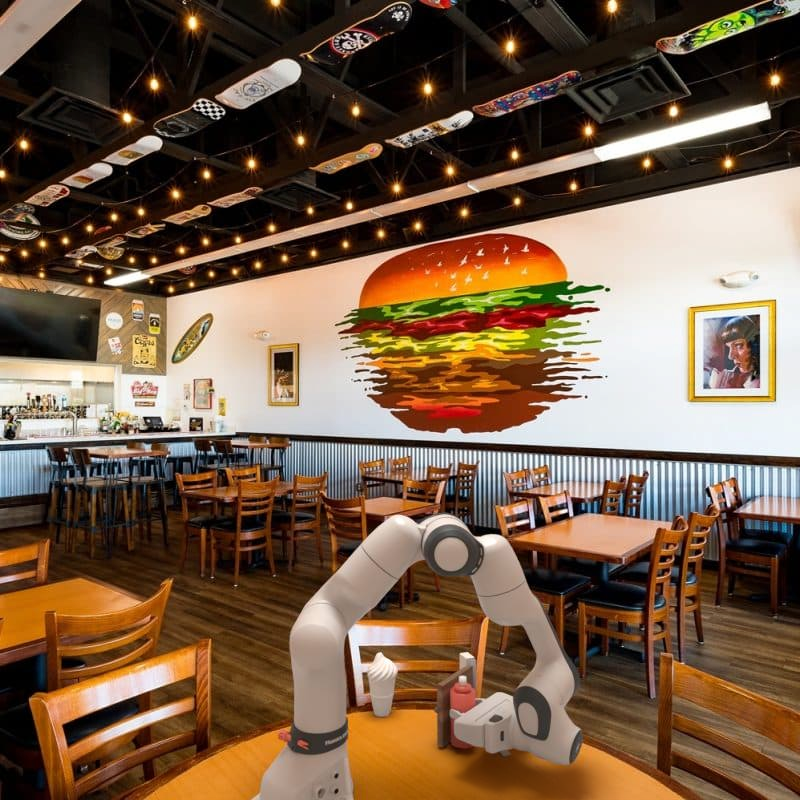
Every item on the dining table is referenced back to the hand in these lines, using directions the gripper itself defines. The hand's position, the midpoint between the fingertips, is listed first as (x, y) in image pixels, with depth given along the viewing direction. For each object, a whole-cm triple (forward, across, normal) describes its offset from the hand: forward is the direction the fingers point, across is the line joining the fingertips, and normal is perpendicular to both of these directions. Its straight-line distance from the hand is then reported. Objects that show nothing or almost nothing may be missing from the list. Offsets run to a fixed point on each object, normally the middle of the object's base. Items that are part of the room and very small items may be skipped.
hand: (459, 706), depth 146 cm
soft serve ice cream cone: (+26, -1, +10) cm, 27 cm away
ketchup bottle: (-1, 0, +8) cm, 8 cm away
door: (+4, -4, +9) cm, 11 cm away
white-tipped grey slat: (-1, -9, +10) cm, 13 cm away
